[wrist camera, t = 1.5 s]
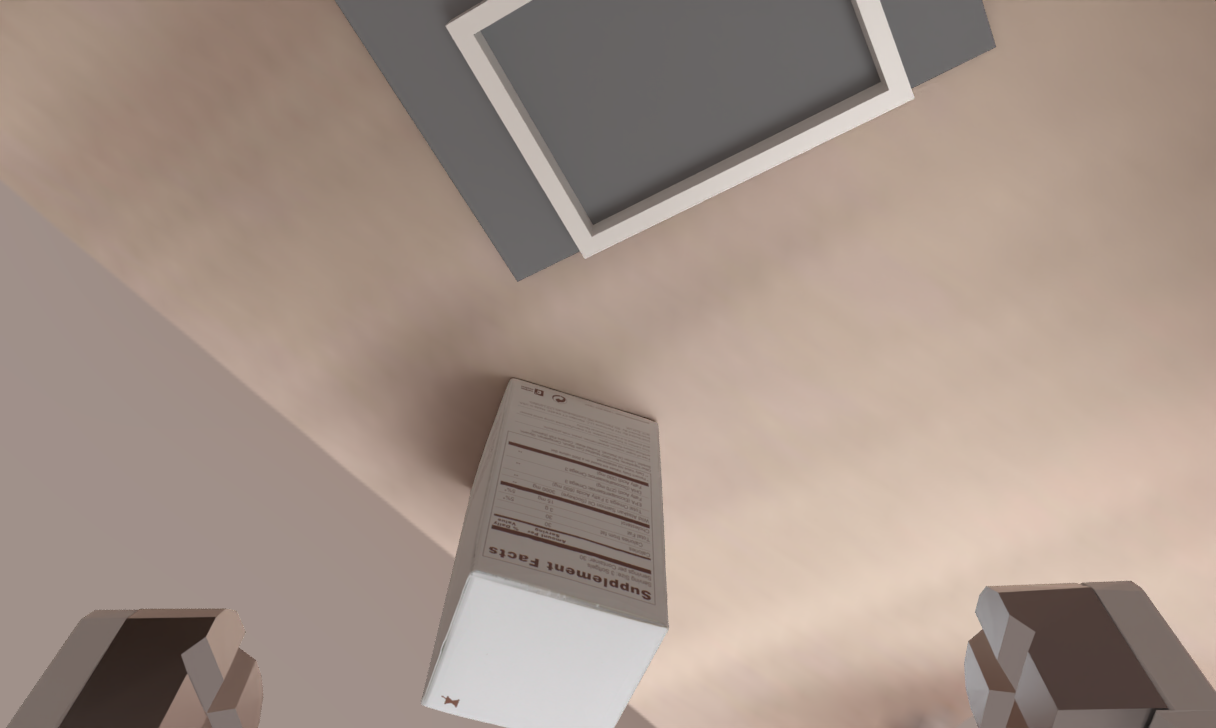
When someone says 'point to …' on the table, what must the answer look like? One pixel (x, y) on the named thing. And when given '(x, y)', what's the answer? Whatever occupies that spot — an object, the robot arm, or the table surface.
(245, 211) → the table surface
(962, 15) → the desk mat
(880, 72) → the frame
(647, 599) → the supplement box
